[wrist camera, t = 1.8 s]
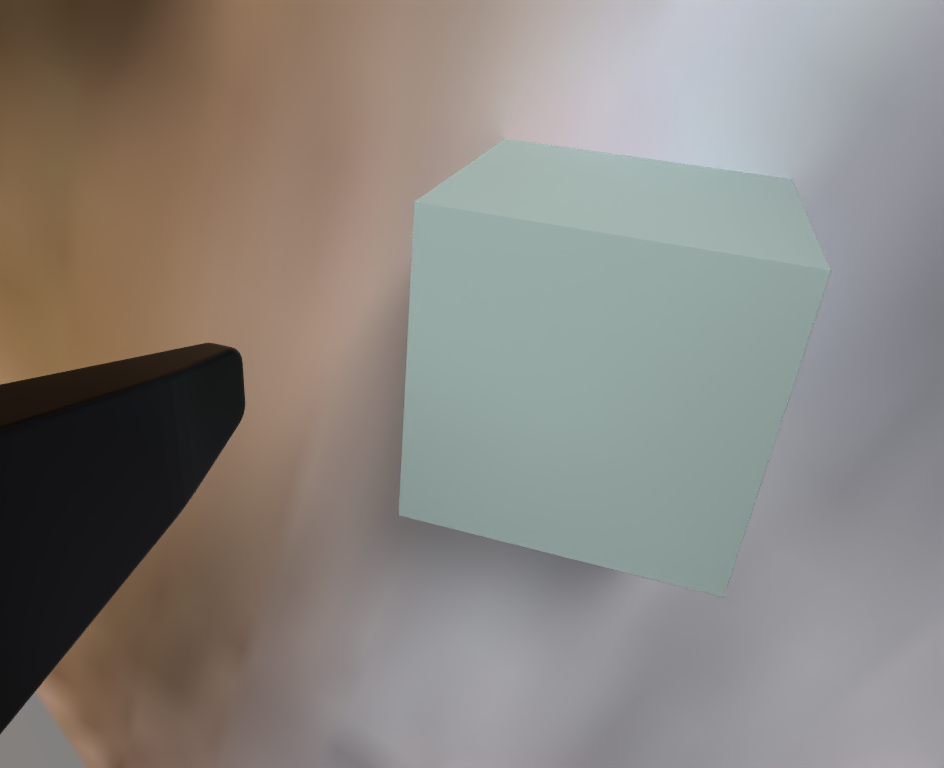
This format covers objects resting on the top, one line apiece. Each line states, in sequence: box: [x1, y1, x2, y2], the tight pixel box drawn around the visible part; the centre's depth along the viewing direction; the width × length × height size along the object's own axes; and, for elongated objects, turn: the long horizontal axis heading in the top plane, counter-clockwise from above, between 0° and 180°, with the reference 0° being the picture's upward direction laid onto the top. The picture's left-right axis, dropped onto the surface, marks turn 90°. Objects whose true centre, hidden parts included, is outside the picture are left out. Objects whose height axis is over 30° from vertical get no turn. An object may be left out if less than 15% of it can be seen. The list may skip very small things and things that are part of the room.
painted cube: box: [399, 138, 831, 597], centre depth 12 cm, size 5×5×5 cm
